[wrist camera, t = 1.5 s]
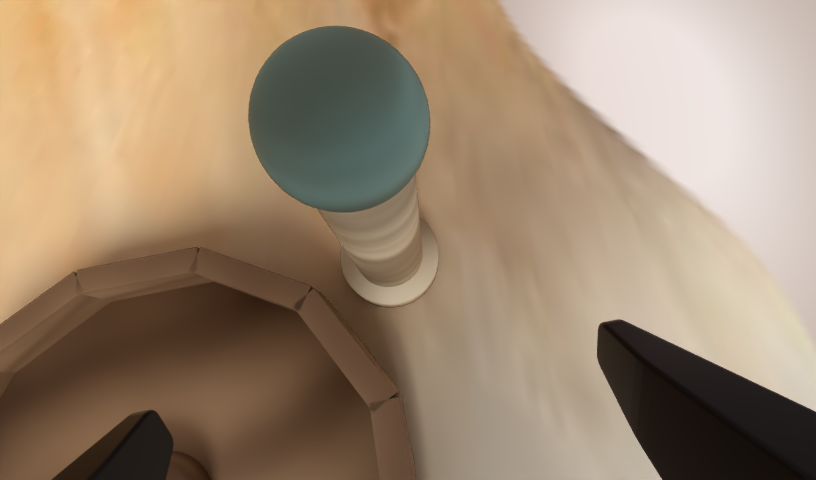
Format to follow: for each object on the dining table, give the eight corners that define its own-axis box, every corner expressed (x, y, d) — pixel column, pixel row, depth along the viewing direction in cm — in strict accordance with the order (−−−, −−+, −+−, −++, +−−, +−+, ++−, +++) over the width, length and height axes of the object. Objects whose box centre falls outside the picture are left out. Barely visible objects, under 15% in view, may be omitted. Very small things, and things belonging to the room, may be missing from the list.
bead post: (458, 264, 22) (498, 64, 8) (384, 327, 21) (288, 225, 7) (397, 199, 23) (342, -66, 9) (326, 256, 22) (152, 57, 9)
